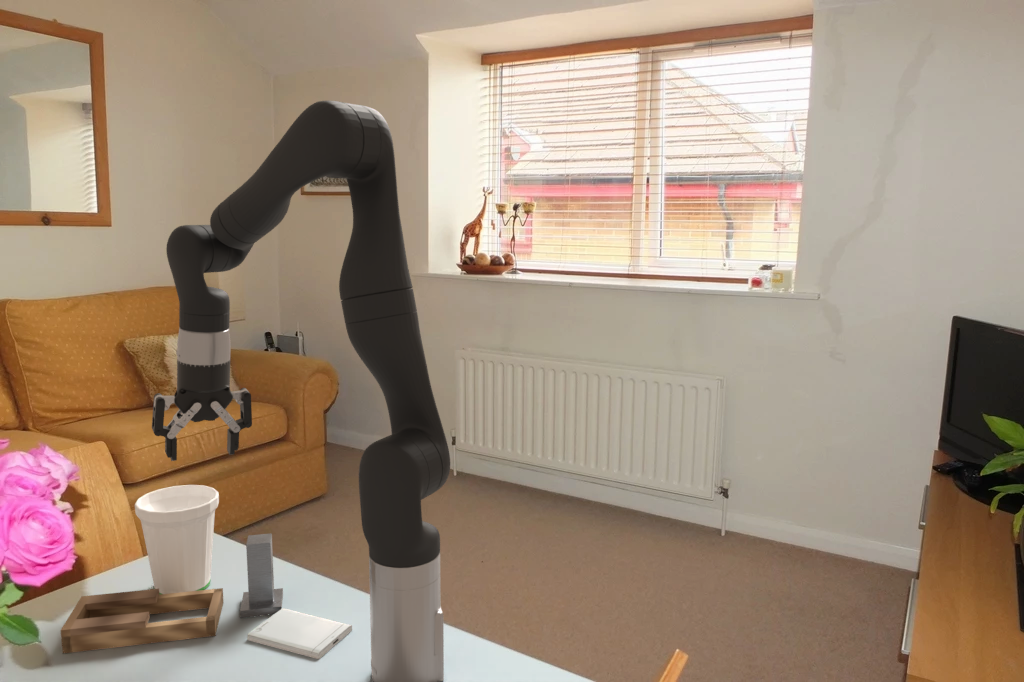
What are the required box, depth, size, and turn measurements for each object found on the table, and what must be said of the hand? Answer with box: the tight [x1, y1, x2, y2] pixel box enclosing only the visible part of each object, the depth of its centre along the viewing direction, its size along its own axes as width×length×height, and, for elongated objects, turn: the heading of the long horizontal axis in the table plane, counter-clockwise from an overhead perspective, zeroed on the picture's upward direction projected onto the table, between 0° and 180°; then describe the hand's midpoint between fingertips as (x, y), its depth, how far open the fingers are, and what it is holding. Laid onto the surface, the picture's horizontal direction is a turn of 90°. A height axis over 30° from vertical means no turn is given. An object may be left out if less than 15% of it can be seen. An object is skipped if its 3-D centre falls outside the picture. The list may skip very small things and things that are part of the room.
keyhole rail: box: [60, 587, 225, 654], centre depth 112 cm, size 20×10×4 cm, turn 104°
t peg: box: [239, 533, 284, 619], centre depth 118 cm, size 6×6×11 cm
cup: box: [134, 484, 220, 594], centre depth 124 cm, size 12×12×15 cm
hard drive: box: [246, 607, 353, 660], centre depth 111 cm, size 2×8×12 cm
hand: (202, 455), depth 119 cm, fingers open, 8 cm apart
